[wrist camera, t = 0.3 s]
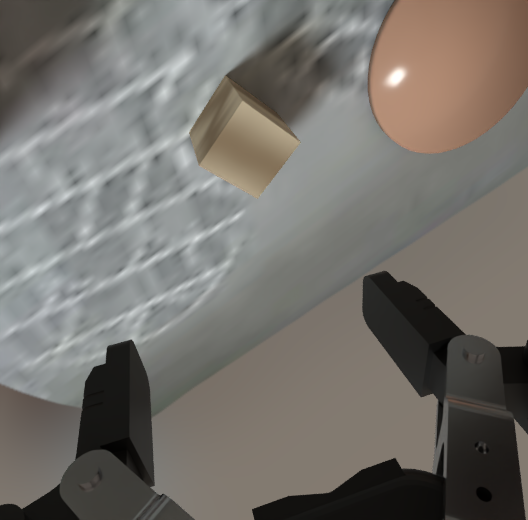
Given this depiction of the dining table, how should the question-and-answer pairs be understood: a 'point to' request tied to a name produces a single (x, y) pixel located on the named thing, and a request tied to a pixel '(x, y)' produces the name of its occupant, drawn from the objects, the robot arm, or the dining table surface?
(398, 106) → the dish
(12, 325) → the dining table surface
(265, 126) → the birch block
